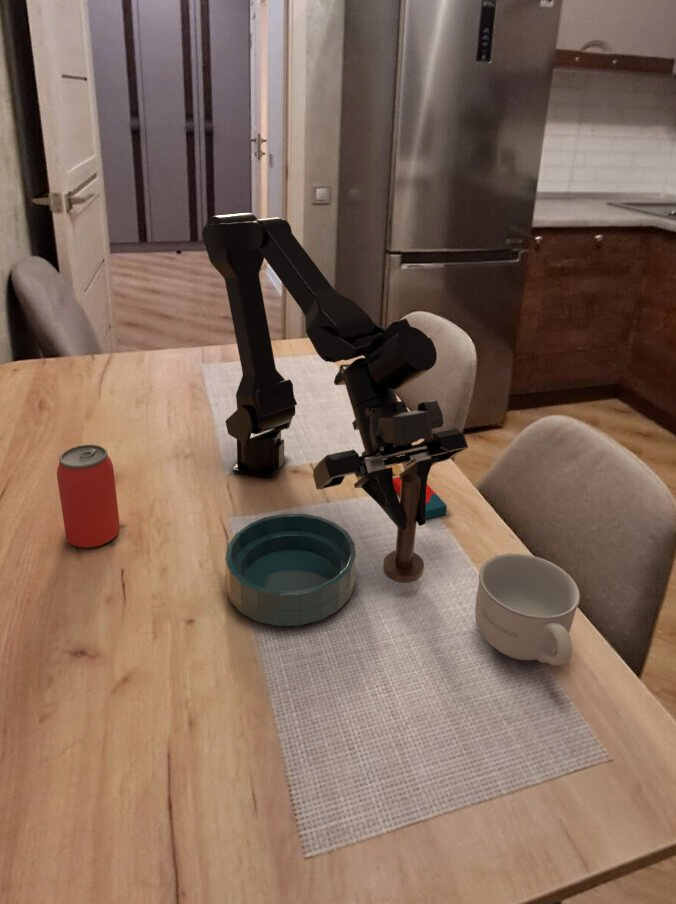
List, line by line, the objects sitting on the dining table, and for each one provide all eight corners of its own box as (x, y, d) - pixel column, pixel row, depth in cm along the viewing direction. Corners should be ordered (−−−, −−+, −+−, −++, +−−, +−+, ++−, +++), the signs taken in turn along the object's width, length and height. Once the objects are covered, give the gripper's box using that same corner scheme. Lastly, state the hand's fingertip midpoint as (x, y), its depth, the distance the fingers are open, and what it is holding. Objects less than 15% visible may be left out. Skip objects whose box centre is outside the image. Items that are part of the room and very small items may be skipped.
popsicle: (401, 456, 109) (449, 505, 96) (400, 464, 109) (448, 513, 97) (376, 461, 107) (422, 512, 94) (375, 469, 107) (421, 520, 95)
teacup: (463, 604, 80) (470, 549, 77) (551, 603, 81) (561, 549, 78) (489, 703, 67) (499, 641, 64) (594, 700, 68) (608, 639, 65)
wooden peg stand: (379, 578, 80) (385, 486, 75) (387, 553, 85) (394, 464, 80) (420, 586, 79) (429, 493, 74) (426, 560, 84) (435, 470, 79)
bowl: (205, 615, 76) (203, 579, 74) (256, 536, 89) (255, 505, 87) (334, 642, 73) (335, 606, 71) (366, 556, 87) (368, 524, 85)
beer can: (131, 527, 90) (123, 448, 85) (96, 555, 84) (86, 473, 79) (91, 515, 92) (81, 438, 87) (54, 542, 86) (41, 461, 81)
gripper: (325, 391, 72) (366, 533, 67) (468, 368, 80) (513, 494, 75) (297, 425, 81) (332, 552, 76) (428, 401, 89) (466, 515, 85)
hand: (413, 527), depth 78 cm, fingers closed on wooden peg stand, 2 cm apart
